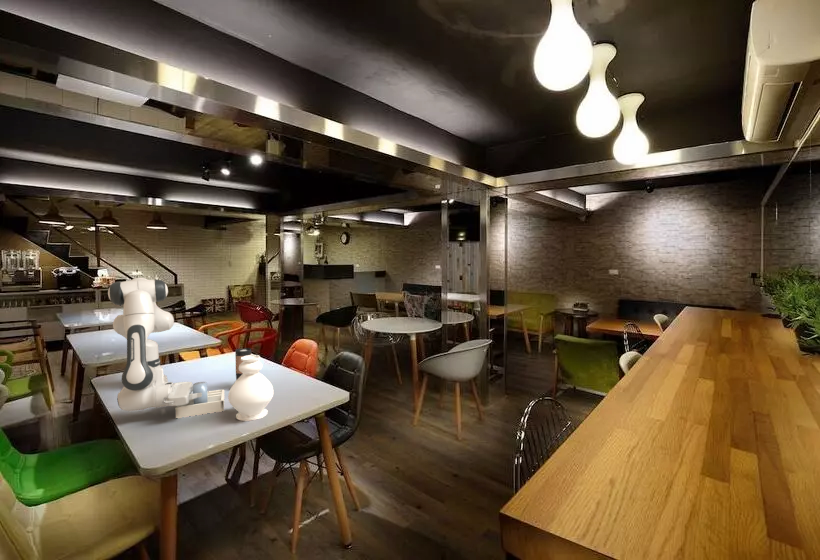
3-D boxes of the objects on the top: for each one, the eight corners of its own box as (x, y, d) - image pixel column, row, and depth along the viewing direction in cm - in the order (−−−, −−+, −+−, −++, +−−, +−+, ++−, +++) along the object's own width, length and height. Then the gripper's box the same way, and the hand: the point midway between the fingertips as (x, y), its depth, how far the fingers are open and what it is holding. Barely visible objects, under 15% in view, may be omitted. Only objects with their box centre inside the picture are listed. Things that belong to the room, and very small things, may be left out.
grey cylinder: (194, 407, 167) (193, 382, 166) (208, 405, 169) (207, 381, 169) (193, 411, 162) (192, 386, 161) (207, 409, 164) (206, 384, 164)
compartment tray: (180, 405, 172) (180, 395, 172) (224, 398, 180) (224, 389, 180) (175, 418, 158) (175, 407, 158) (223, 411, 165) (223, 400, 165)
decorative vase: (228, 426, 150) (226, 365, 149) (229, 410, 167) (228, 354, 165) (275, 419, 157) (274, 360, 156) (272, 404, 174) (271, 350, 172)
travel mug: (246, 390, 191) (245, 351, 190) (232, 389, 193) (231, 351, 191) (255, 385, 198) (254, 348, 197) (242, 384, 200) (241, 347, 199)
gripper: (161, 396, 150) (200, 391, 156) (168, 381, 169) (204, 377, 174) (161, 412, 150) (201, 406, 156) (169, 395, 169) (204, 390, 175)
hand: (202, 390), depth 166 cm, fingers open, 8 cm apart
